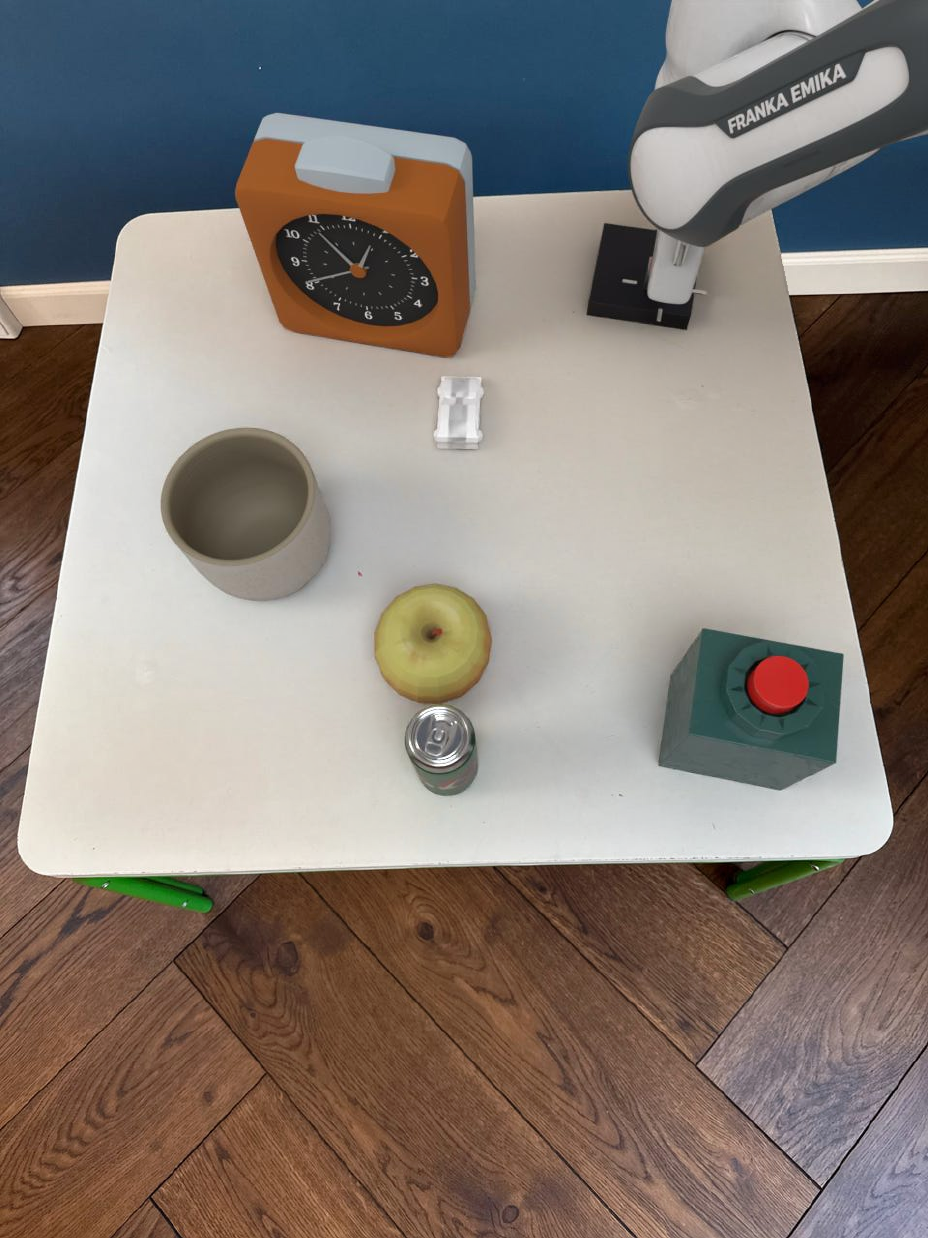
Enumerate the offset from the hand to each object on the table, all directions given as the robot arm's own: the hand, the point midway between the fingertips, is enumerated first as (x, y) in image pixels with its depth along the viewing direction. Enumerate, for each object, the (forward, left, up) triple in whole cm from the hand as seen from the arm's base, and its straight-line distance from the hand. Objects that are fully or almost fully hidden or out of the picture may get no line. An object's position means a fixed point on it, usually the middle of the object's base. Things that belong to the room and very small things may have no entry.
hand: (669, 255), depth 82 cm
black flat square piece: (+2, -2, -6) cm, 7 cm away
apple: (+14, +41, -7) cm, 44 cm away
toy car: (+17, +17, -7) cm, 25 cm away
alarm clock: (+27, +6, -7) cm, 29 cm away
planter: (+31, +34, -7) cm, 46 cm away
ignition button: (-11, +43, +7) cm, 45 cm away
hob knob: (0, 0, -4) cm, 4 cm away
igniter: (-11, +43, -6) cm, 44 cm away
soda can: (+11, +50, -7) cm, 52 cm away
